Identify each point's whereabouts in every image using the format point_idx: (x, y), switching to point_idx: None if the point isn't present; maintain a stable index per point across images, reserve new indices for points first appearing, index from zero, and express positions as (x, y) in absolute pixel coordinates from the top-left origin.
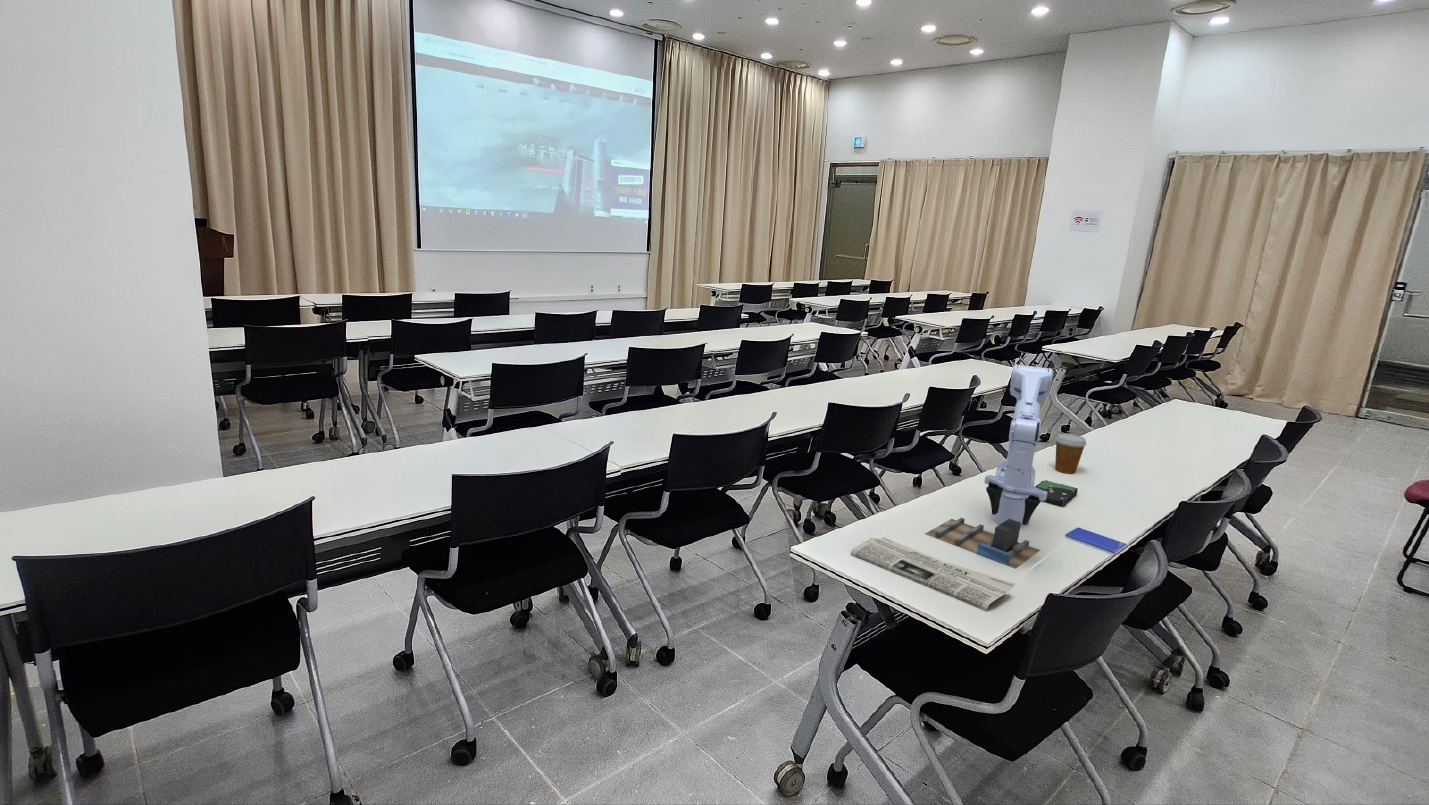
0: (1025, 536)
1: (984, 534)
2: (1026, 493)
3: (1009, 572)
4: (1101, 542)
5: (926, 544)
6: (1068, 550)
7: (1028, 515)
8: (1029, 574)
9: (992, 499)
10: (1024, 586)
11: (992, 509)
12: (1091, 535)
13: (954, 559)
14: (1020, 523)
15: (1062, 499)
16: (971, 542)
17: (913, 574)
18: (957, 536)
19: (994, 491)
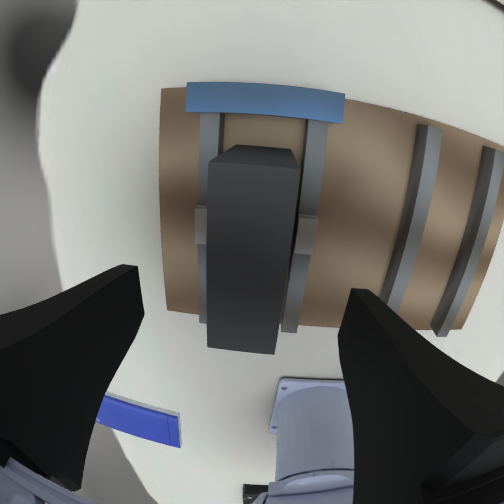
0: (250, 376)
1: None
2: (36, 492)
3: (180, 67)
4: (114, 412)
5: (491, 93)
6: (135, 361)
7: (59, 295)
8: (125, 114)
9: (428, 360)
10: (112, 22)
11: (381, 305)
12: (142, 430)
13: (384, 24)
14: (208, 340)
15: (247, 496)
16: (387, 193)
17: None
18: (439, 210)
19: (476, 438)
